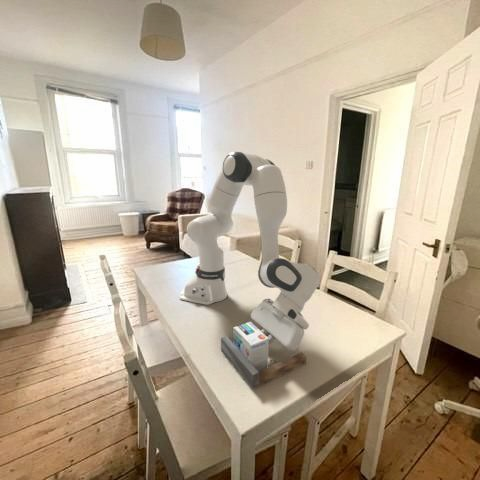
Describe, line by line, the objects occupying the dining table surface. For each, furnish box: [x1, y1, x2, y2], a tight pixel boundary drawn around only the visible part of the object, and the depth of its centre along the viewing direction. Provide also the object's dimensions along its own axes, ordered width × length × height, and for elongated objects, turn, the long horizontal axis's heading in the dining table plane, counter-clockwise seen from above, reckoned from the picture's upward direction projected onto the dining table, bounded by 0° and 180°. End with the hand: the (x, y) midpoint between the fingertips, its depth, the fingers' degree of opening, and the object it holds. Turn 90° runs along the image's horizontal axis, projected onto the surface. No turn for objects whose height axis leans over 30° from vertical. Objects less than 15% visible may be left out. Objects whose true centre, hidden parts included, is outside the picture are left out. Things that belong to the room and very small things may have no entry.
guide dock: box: [220, 327, 307, 391], centre depth 86 cm, size 20×19×5 cm
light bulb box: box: [232, 321, 270, 372], centre depth 83 cm, size 11×7×11 cm, turn 31°
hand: (260, 345), depth 85 cm, fingers closed, pressing on light bulb box
